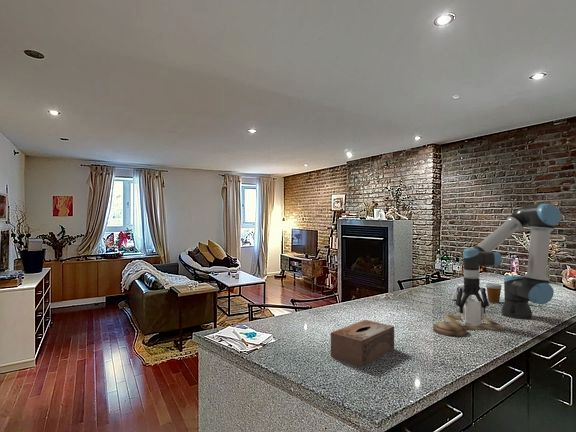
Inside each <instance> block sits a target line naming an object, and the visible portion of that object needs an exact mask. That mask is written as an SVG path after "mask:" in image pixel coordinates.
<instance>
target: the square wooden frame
mask: <svg viewBox="0 0 576 432" xmlns="http://www.w3.org/2000/svg"><path fill="white" fill-rule="evenodd" d="M444 319H445V320H446V321H447V322H453V323H458V324H460V325H462V326H463V327H465V328H466V330H495V331H497V330H503V325H502V324H500V323H498V322H496V321H494V320H492V319H490V318H488V317H487V316H485V315H484V320H482V319H481V321H483V322H485V323H487V324H480V325H472V324H463V323H461V322H460V321H459V320H462V319H461V314H444Z"/></svg>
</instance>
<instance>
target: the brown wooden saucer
mask: <svg viewBox="0 0 576 432" xmlns="http://www.w3.org/2000/svg"><path fill="white" fill-rule="evenodd" d="M432 328H433V330H432V331H433V332H434V333H436V334H439V335H442V336H446V337H464V336H466V335H467V329H466V328H465V327H463V326H462V325H460V324H458V323H453V322H450V321H438V322H436V323H435V324H434V323H433V325H432Z"/></svg>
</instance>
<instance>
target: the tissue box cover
mask: <svg viewBox="0 0 576 432" xmlns="http://www.w3.org/2000/svg"><path fill="white" fill-rule="evenodd" d="M391 350H392V351H393V350H395V326H394V325H391V324H386V323H382V322H377V321H373V320H368V319H363V320H361V321H357V322H356V323H353V324H349V325H347V326H344V327H341V328H338V329H336V330H333V331H331V332H330V357H332V358H334V359H336V360H337V359H338V360H340V361H343V362H345V363H349V364H352V365H354V366H357V367H361V368H362V367H364V366H366V365H368V364H369V363H371V362H373V361H374V360H377V359H379V358H381V357H382V356H384V355H386V354H387V353H390V352H391Z"/></svg>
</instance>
